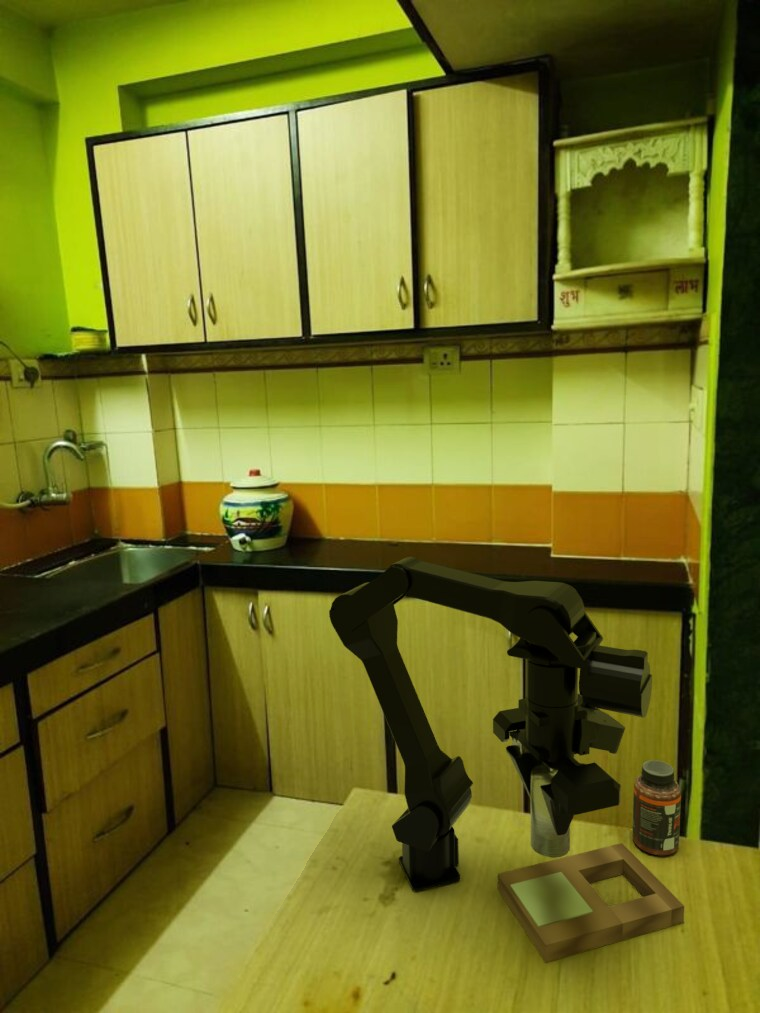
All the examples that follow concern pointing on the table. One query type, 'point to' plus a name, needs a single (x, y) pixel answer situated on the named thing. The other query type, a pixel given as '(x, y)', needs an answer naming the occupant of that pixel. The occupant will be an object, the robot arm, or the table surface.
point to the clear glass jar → (544, 818)
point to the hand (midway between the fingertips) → (550, 821)
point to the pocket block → (586, 902)
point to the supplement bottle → (656, 809)
